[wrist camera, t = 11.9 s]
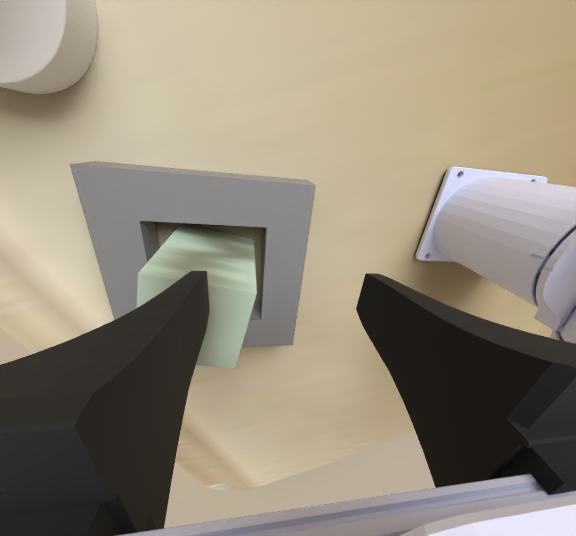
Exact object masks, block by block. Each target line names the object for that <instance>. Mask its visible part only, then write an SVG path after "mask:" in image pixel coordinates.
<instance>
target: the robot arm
mask: <svg viewBox="0 0 576 536" xmlns="http://www.w3.org/2000/svg"><path fill="white" fill-rule="evenodd" d="M458 172H460V174H459V176H458V177H457V174H458ZM427 254H428V255H427ZM426 255H427V256H426ZM425 256H426V257H425ZM416 258H417V259H418V260H420V261H448V262H458V263H459V264H461V265H463V266H465V267H467V268H468V269H470V270H472V271H474V272H475V273H477V274H479V275H481V276H483V277H484V278H486V279H488V280H490V281H492V282H493V283H495V284H497V285H499V286H500V287H502V288H504V289H506V290H508V291H509V292H511V293H513V294H515V295H516V296H518V297H520V298H522V299H524V300H525V301H527V302H529V303H531V304H532V305H534V306H536V307H538V309H537V313H536V315H535V317H534V318H535V319H536V320H538V321H540V322H541V323H543V324H545V325H546V326H548V327H550V328H551V329H553V331H552V332H551V335H550V338H548V337H544V336H540V335H536V334H532V333H528V332H525V331H521V330H517V329H514V328H510V327H507V326H504V325H501V324H497V323H494V322H491V321H488V320H485V319H482V318H479V317H476V316H473V315H471V314H468V313H465V312H463V311H460V310H457V309H455V308H452V307H450V306H448V305H445V304H443V303H441V302H439V301H436V300H434V299H432V298H430V297H428V296H425V295H423V294H421V293H419V292H417V291H415V290H413V289H411V288H409V287H407V286H405V285H403V284H401V283H399V282H397V281H394V280H392V279H390V278H388V277H386V276H383V275H380V274H365V278H364V282H363V285H362V289H361V293H360V297H359V300H358V304H357V308H356V310H357V312H358V315H359V318H360V320H361V323H362V325H363V327H364V329H365V331H366V333H367V334H368V336H369V338H370V339H371V341H372V343H373V345H374V346H375V348H376V350H377V351H378V353H379V355H380V356H381V358H382V360H383V361H384V363H385V365H386V366H387V368H388V370H389V372H390V374H391V376H392V378H393V380H394V382H395V384H396V386H397V388H398V391H399V393H400V395H401V397H402V399H403V402H404V404H405V407H406V409H407V411H408V414H409V416H410V418H411V421H412V423H413V426H414V428H415V431H416V434H417V436H418V439H419V441H420V444H421V447H422V449H423V452H424V455H425V458H426V461H427V463H428V466H429V469H430V472H431V475H432V478H433V481H434V484H435V487H436V488H432V489H425V490H419V491H412V492H405V493H398V494H391V495H385V496H378V497H371V498H364V499H358V500H351V501H344V502H338V503H332V504H324V505H318V506H311V507H305V508H298V509H291V510H284V511H278V512H271V513H265V514H257V515H251V516H245V517H238V518H231V519H224V520H217V521H211V522H204V523H197V524H191V525H184V526H177V527H171V528H164V524H165V517H166V511H167V505H168V499H169V493H170V485H171V479H172V475H173V469H174V463H175V458H176V452H177V446H178V441H179V436H180V430H181V425H182V420H183V414H184V410H185V405H186V400H187V395H188V390H189V386H190V382H191V378H192V375H193V372H194V369H195V365H196V362H197V359H198V356H199V353H200V350H201V346H202V343H203V340H204V337H205V333H206V329H207V324H208V318H209V312H210V307H209V293H208V279H207V271H190V272H189V273H187V274H186V275H185V276H183V277H182V278H181V279H179V280H178V281H177V282H175V283H174V284H173V285H171V286H170V287H168V288H167V289H166V290H164V291H163V292H161V293H160V294H158V295H157V296H155V297H154V298H152V299H151V300H149V301H147V302H146V303H144V304H143V305H141V306H140V307H138V308H136V309H134V310H133V311H131V312H129V313H127V314H125V315H123V316H121V317H120V318H118V319H116V320H114V321H112V322H110V323H108V324H105V325H103V326H101V327H99V328H96V329H94V330H92V331H90V332H88V333H85V334H83V335H81V336H79V337H76V338H74V339H71V340H69V341H66V342H64V343H61V344H59V345H56V346H54V347H51V348H48V349H45V350H43V351H40V352H37V353H34V354H32V355H29V356H26V357H23V358H20V359H18V360H15V361H11V362H8V363H5V364H2V365H0V536H576V187H570V186H563V185H555V184H547V178H546V177H543V176H534V175H525V174H516V173H507V172H498V171H489V170H480V169H471V168H462V167H451V168H449V169H448V170H447V172H446V174H445V177H444V180H443V182H442V185H441V188H440V191H439V193H438V196H437V199H436V201H435V204H434V207H433V209H432V212H431V215H430V217H429V220H428V223H427V226H426V228H425V231H424V234H423V236H422V239H421V242H420V244H419V247H418V250H417V253H416Z"/></svg>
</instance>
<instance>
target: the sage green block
mask: <svg viewBox="0 0 576 536" xmlns="http://www.w3.org/2000/svg"><path fill="white" fill-rule="evenodd" d="M190 271H207V279H208V293H209V307H210V312H209V318H208V324H207V329H206V333H205V337H204V340H203V343H202V346H201V350H200V353H199V356H198V359H197V362H196V365H204V366H215V367H227V368H236V364H237V361H238V357H239V354H240V350H241V347H242V343H243V340H244V336H245V333H246V329H247V326H248V322H249V319H250V315H251V312H252V308H253V305H254V301H255V298H256V295H257V288H256V269H255V250H254V239H250V238H246V237H242V236H237V235H233V234H229V233H224V232H220V231H216V230H211V229H207V228H203V227H198V226H194V225H190V224H185V223H181V224H180V225H179V227H178V228H177V229H176V230H175V231H174V232H173V233H172V235H171V236H170V237H169V238H168V239H167V240H166V242H165V243H164V244H163V245H162V246H161V247H160V248H159V250H158V251H157V252H156V253H155V254H154V255H153V257H152V258H151V259H150V260H149V261H148V262H147V263H146V265H145V266H144V267H143V268H142V269H141V270H140V272H139V273H138V287H137V308H138V307H140V306H141V305H143V304H144V303H146V302H147V301H149V300H151V299H152V298H154V297H155V296H157V295H158V294H160V293H161V292H163V291H164V290H166V289H167V288H168V287H170V286H171V285H173V284H174V283H175V282H177V281H178V280H179V279H181V278H182V277H183V276H185V275H186V274H187V273H189V272H190Z"/></svg>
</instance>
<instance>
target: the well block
mask: <svg viewBox="0 0 576 536" xmlns="http://www.w3.org/2000/svg"><path fill="white" fill-rule="evenodd" d="M70 167H71V170H72V174H73V177H74V181H75V184H76V187H77V191H78V194H79V198H80V201H81V205H82V208H83V212H84V215H85V219H86V222H87V226H88V229H89V233H90V236H91V240H92V243H93V247H94V250H95V254H96V257H97V260H98V264H99V267H100V271H101V274H102V278H103V281H104V285H105V288H106V292H107V295H108V299H109V302H110V306H111V309H112V313H113V316H114V320H116V319H118V318H120V317H121V316H123V315H125V314H127V313H129V312H131V311H133V310H134V309H136V308H137V287H138V273H139V272H140V270H141V269H142V268H143V267H144V266H145V265H146V263H147V262H148V261H149V260H150V259H151V258H152V257H153V255H154V254H155V253H156V252H157V251H158V250H159V243H158V236H157V230H156V224H155V222H172V223H191V224H210V225H229V226H249V227H264V240H263V258H262V276H261V294H260V302H254V305H253V308H252V312H251V315H250V319H249V322H248V326H247V329H246V333H245V336H244V340H243V343H242V347H256V346H285V345H293V339H294V332H295V325H296V318H297V311H298V304H299V297H300V290H301V283H302V276H303V269H304V262H305V255H306V249H307V242H308V235H309V228H310V221H311V214H312V207H313V200H314V193H315V186H316V185H314V184H312V183H311V182H309V181H307V180H297V179H286V178H275V177H264V176H253V175H241V174H230V173H219V172H208V171H197V170H185V169H174V168H163V167H152V166H141V165H129V164H118V163H107V162H86V163H77V164H70Z"/></svg>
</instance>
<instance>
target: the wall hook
mask: <svg viewBox="0 0 576 536" xmlns="http://www.w3.org/2000/svg"><path fill="white" fill-rule="evenodd" d="M97 38H98V19H97V10H96V4H95V0H0V87H3V88H7V89H12V90H16V91H20V92H25V93H32V94H48V93H55V92H58V91H62V90H64V89H67V88H69V87H70V86H72V85H73V84H75V83H76V82H77V81H79V80H80V79H81V78H82V76H83V75H84V74H85V73H86V71H87V70H88V68H89V66H90V64H91V62H92V60H93V57H94V54H95V51H96V46H97Z"/></svg>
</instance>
